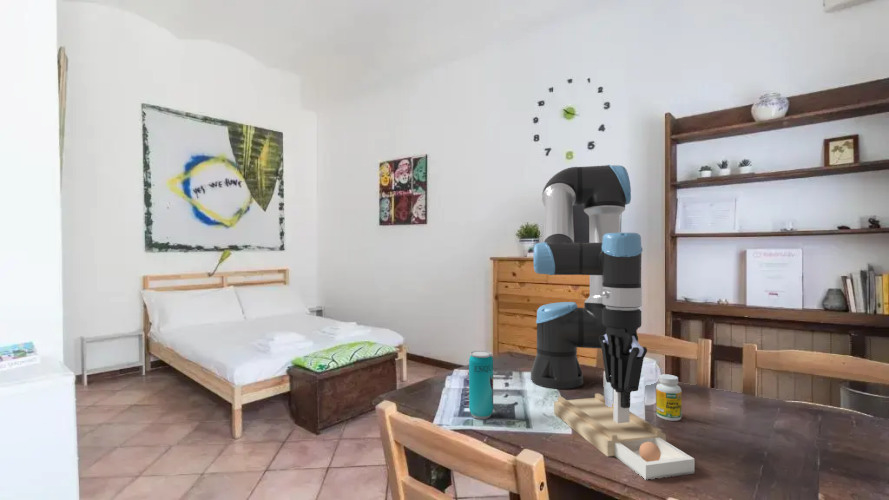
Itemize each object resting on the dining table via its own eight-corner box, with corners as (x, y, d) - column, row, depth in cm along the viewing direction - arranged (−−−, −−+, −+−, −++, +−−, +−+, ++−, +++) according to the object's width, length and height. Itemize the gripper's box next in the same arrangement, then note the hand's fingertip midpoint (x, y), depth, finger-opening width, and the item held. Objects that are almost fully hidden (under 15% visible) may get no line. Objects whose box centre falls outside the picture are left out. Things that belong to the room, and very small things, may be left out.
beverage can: (494, 420, 102) (494, 356, 102) (469, 420, 102) (469, 356, 102) (492, 411, 108) (492, 350, 107) (468, 410, 108) (468, 350, 107)
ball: (642, 467, 81) (632, 448, 83) (658, 465, 82) (648, 446, 84) (651, 458, 78) (641, 439, 81) (668, 456, 79) (657, 437, 82)
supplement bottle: (671, 411, 107) (672, 372, 107) (686, 420, 101) (687, 379, 101) (651, 413, 106) (651, 373, 106) (665, 422, 101) (665, 380, 100)
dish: (611, 453, 86) (611, 440, 86) (655, 447, 88) (655, 435, 88) (645, 480, 76) (645, 465, 76) (694, 473, 78) (694, 458, 78)
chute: (554, 413, 106) (554, 397, 106) (602, 409, 109) (602, 393, 109) (607, 456, 84) (607, 436, 84) (665, 449, 87) (665, 429, 87)
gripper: (587, 303, 96) (587, 411, 96) (625, 312, 83) (624, 436, 83) (618, 302, 97) (618, 408, 98) (659, 311, 85) (659, 432, 85)
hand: (621, 421), depth 90 cm, fingers closed
